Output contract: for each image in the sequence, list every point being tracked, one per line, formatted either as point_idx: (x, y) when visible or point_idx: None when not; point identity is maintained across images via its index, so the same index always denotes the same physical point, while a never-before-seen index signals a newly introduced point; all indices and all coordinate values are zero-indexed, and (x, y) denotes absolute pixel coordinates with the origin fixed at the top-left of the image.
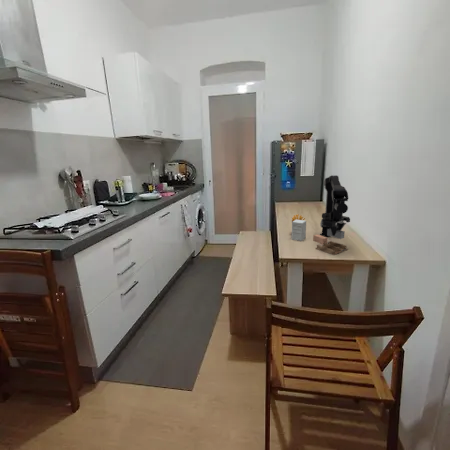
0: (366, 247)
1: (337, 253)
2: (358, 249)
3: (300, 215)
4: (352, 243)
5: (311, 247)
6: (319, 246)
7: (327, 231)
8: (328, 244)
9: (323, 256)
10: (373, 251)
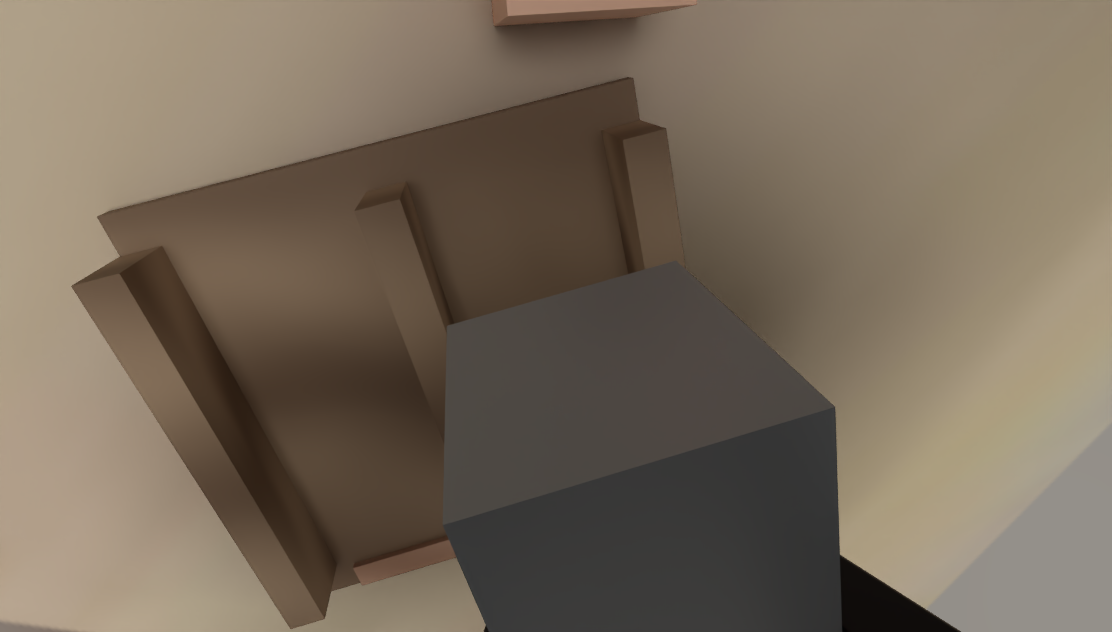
0: (1013, 464)
1: (406, 564)
2: (849, 494)
3: None
4: (1049, 248)
5: (36, 86)
6: (123, 354)
7: (448, 429)
8: (425, 339)
9: (88, 585)
10: (929, 591)
